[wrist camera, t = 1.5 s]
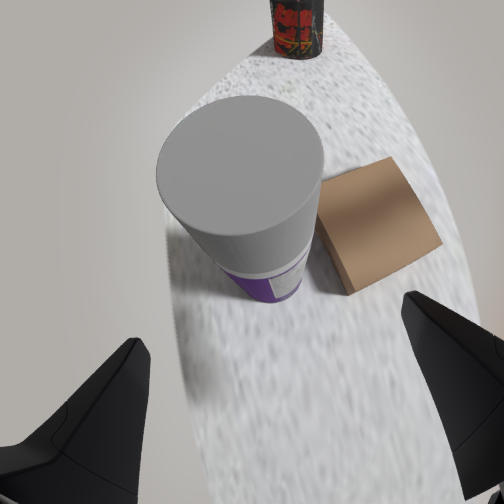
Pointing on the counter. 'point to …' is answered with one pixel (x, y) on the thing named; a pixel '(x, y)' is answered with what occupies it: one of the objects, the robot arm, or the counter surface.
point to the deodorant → (297, 27)
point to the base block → (372, 224)
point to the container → (246, 189)
